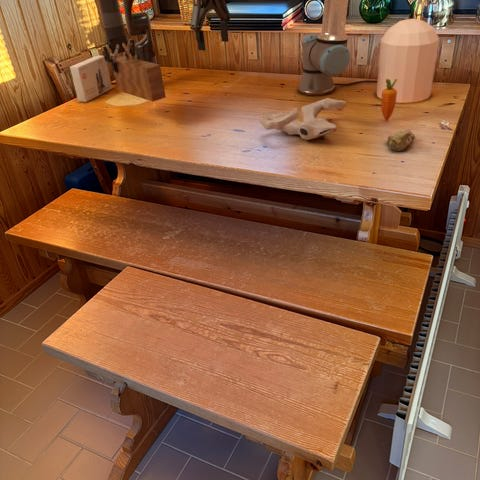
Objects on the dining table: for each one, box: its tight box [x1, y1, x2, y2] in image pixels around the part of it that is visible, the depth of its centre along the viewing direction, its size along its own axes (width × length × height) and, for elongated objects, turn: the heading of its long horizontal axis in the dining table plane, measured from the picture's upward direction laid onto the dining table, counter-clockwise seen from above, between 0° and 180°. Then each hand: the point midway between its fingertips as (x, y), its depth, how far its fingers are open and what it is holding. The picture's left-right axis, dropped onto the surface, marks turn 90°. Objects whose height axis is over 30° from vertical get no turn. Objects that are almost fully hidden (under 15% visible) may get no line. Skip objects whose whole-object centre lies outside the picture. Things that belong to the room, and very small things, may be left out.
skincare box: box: [69, 54, 113, 103], centre depth 218 cm, size 21×6×16 cm, turn 158°
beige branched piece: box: [259, 97, 347, 141], centre depth 160 cm, size 28×26×12 cm
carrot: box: [380, 79, 397, 122], centre depth 161 cm, size 5×5×15 cm
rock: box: [387, 129, 416, 152], centre depth 146 cm, size 11×6×10 cm
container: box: [375, 18, 440, 104], centre depth 179 cm, size 21×21×28 cm
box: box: [112, 55, 166, 102], centre depth 178 cm, size 25×6×12 cm, turn 43°
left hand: (123, 70), depth 183 cm, fingers closed on box, 6 cm apart
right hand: (213, 45), depth 168 cm, fingers open, 13 cm apart
